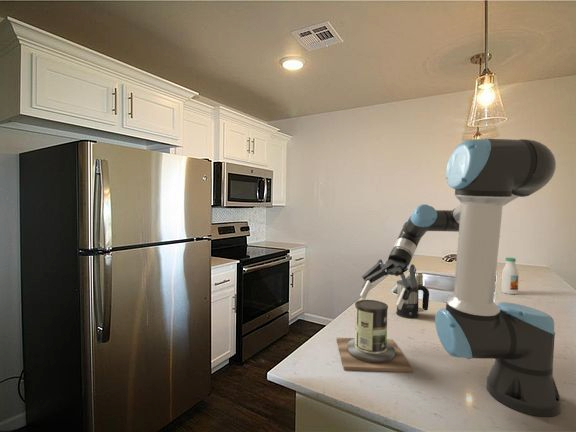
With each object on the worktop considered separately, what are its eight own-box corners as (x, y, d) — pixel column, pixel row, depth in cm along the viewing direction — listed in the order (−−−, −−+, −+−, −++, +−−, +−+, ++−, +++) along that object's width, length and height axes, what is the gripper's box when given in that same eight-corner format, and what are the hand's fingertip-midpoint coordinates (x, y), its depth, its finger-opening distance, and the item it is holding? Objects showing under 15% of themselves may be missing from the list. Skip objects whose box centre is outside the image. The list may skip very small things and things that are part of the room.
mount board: (412, 372, 91) (412, 364, 91) (343, 369, 92) (343, 361, 92) (392, 342, 111) (393, 335, 111) (336, 340, 112) (336, 333, 112)
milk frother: (403, 319, 133) (404, 285, 133) (384, 307, 149) (384, 276, 148) (432, 316, 137) (433, 283, 136) (409, 305, 152) (410, 275, 152)
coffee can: (385, 341, 105) (386, 300, 105) (388, 356, 95) (389, 310, 95) (354, 338, 107) (355, 298, 107) (354, 352, 97) (355, 307, 97)
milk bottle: (504, 294, 174) (505, 258, 173) (499, 290, 181) (500, 256, 180) (520, 295, 171) (521, 259, 171) (514, 291, 179) (515, 257, 178)
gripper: (439, 264, 107) (419, 318, 98) (375, 255, 126) (353, 299, 116) (433, 251, 103) (411, 305, 94) (368, 243, 122) (344, 288, 112)
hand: (379, 302), depth 105 cm, fingers open, 13 cm apart
